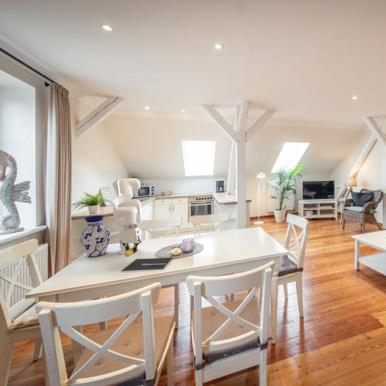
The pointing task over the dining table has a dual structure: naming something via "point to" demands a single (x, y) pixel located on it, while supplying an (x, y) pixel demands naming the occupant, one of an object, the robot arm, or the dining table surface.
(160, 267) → the place mat
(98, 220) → the vase
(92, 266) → the dining table surface
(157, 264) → the fork
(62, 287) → the dining table surface
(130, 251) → the banana
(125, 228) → the robot arm
